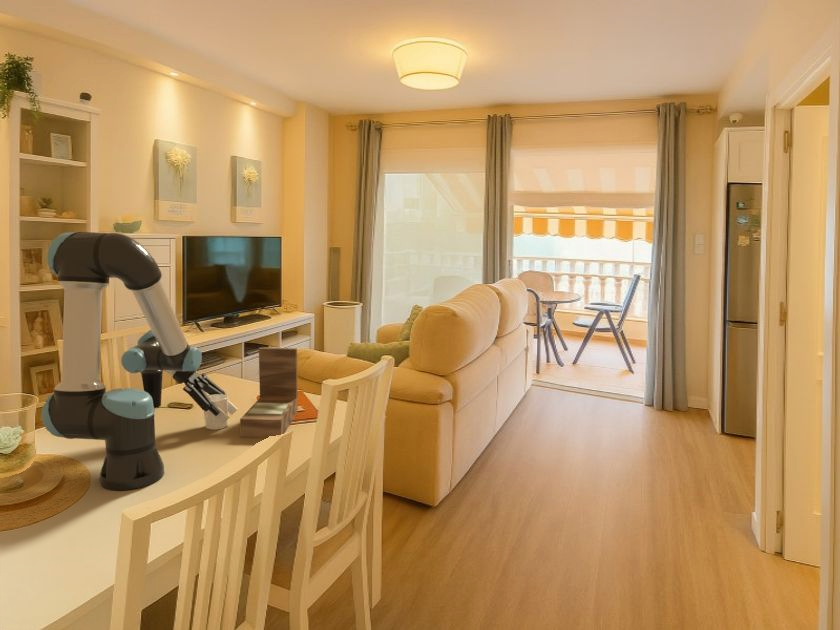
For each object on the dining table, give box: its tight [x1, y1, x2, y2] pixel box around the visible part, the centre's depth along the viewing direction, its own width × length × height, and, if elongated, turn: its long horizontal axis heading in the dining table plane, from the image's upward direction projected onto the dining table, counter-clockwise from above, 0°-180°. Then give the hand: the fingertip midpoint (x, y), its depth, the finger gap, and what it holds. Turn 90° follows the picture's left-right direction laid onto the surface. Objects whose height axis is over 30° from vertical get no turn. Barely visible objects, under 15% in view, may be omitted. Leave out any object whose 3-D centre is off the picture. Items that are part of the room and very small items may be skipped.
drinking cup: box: [139, 369, 164, 409], centre depth 203 cm, size 8×8×20 cm
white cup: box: [203, 394, 229, 431], centre depth 185 cm, size 8×8×10 cm
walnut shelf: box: [239, 347, 299, 439], centre depth 187 cm, size 24×13×24 cm, turn 0°
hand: (230, 416), depth 186 cm, fingers closed on white cup, 8 cm apart
